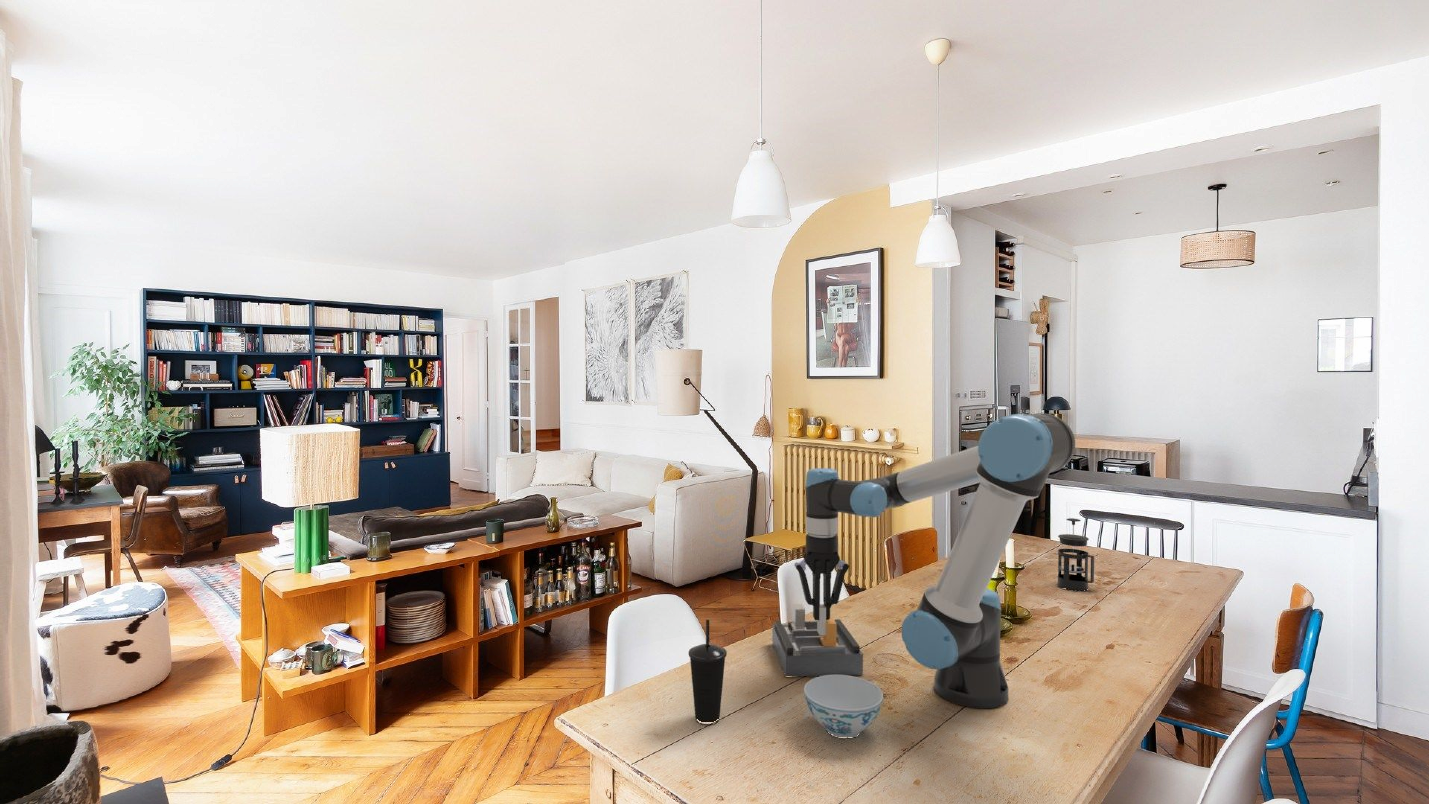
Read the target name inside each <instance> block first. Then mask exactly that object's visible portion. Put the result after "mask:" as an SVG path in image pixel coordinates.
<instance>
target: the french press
mask: <svg viewBox="0 0 1429 804" xmlns="http://www.w3.org/2000/svg"><path fill="white" fill-rule="evenodd" d="M1065 520H1066V521H1069V522H1071V525H1072V534H1067V533H1064V534H1058V536H1057V537H1058V538H1059V543H1060V544H1062V545H1065V546H1069V547H1070V546H1071V547H1072V548H1059V549H1058V550H1057V555H1058V557H1057V558H1058V562H1057V564H1058V565H1057V566H1058V568H1057V569H1058V571H1057V574H1058V575H1057V583H1056V586H1057V585H1058V586H1059V587H1060V588H1059V587H1058V586H1057V587H1058V588H1059V589H1061V588H1066V589H1069V590H1076V591H1075V592H1078V591H1082V592H1085V591H1084V590H1087V589H1088V588H1089V584H1093V583H1095V556H1094V555H1092V554H1089V552H1088V551H1085V550H1082V549H1077V548H1075V547H1086V546H1088V541H1089V537H1087V536H1085V535H1084V536H1083V535H1079V534H1075V525H1076V522H1081V519H1079V518H1073V517H1071V518H1070V517H1069V518H1065ZM1070 553H1071V554H1070ZM1062 558H1063V564H1062ZM1089 558H1090V580H1089V575H1088V574H1089ZM1070 559H1072V562H1071V563H1072V564H1071V565H1070ZM1074 560H1076V564H1074V562H1075V561H1074ZM1083 560H1084V567H1083ZM1062 572H1063V573H1062ZM1083 574H1084V576H1083ZM1089 589H1090V588H1089ZM1069 590H1068V591H1069Z"/></svg>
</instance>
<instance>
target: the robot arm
mask: <svg viewBox="0 0 1429 804" xmlns="http://www.w3.org/2000/svg"><path fill="white" fill-rule="evenodd" d="M1074 434H1075V433H1073V430H1072V428H1071V427H1070V426H1069V425H1068V424H1067V422H1065V421H1064V419H1061V418H1060V417H1058V416H1056V415H1053V414H1051V413H1050V414H1049V413H1040V412H1039V413H1033V414H1032V413H1030V414H1025V413H1015V414H1014V413H1013V414H1009V415H1006V416H1003V417H1001V418H998V419H996V420H994V421H993V422H992V423H990V424H989V425H988V426H987V427H986V428H985V429H984V430H983V432H982V433H981V435H980V437H979V440H978V445H976V446H973V447H970V448H967V449H964V450H961V451H957V452H954V453H952V454H949V455H946V456H942V457H940V458H936V459H934V460H930V461H927V462H925V463H923V464H922V463H921V464H919V465H916V466H914V467H911V468H907V469H903V470H901V471H897V472H894V473H892V474H889V475H885V476H882V477H876V478H875V477H874V478H870V479H864V480H863V479H862V480H845V479H840V478H839V473H838V471H837V470H836V469H833V468H828V467H827V468H824V467H823V468H822V467H821V468H820V467H819V468H811V469H809V470H808V471H807V472H806V477H805V487H804V489H805V506H806V507H805V510H806V511H805V532H806V533H807V534H806V535H805V554H804V555H803V559H802V560H801V561H799V562H795V563H794V568H795V569H796V570H797V571H798V575H799V579H800V583H801V588H802V592H803V595H804V600H805V602H806V603H807V605H809V606H812V617H813V619H814V621H817V632H818V633H819V635H826V620H829V619H830V618H831V608H832V606H833V605H837V604H838V603H839V601H840V596H841V591H842V587H843V583H844V580H845V579H844V578H845V576H846V575H845V574H846V573H847V571H848V570H849V568H850V565H849V564H848V563H847V562H846V561H843V560H842V559H841V558H840V557H841V556H840V555H839V552H838V551H839V536H838V535H837V534H838V532H839V520H838V519H839V518H838V517H839V513H841V514H847V515H853V516H859V517H861V518H878V517H880V516H881V515H882V514H883V512H885V510H888V509H894V508H900V507H903V506H905V505H908V504H910V503H913V502H917V501H921V500H923V499H927V498H931V497H933V496H937V495H941V494H944V493H948V492H952V491H956V490H959V489H962V488H964V487H965V488H966V487H969V486H973V485H976V484H978V487H977V490H976V492H975V494H974V496H973V498H972V501H971V504H970V506H969V508H968V510H967V512H966V515H965V517H964V520H963V523H962V525H961V527H960V529H959V531H958V534H957V536H956V538H955V540H954V542H953V546H952V547H951V551H950V552H949V555H948V557H947V559H946V561H945V563H944V566H943V569H942V571H941V574H940V575H939V578H938V580H937V583H936V584H932V585H930V586H927V587H926V588H925V590H924V592H923V595H922V597H921V599H920V602H919V604H918V606H917V608H916V609H915V610H912V611H911V612H909V613H908V614H907V615H906V617H905V618H904V619H903V621H902V623H901V624H902V625H901V628H900V629H901V631H900V632H901V633H900V634H901V638H902V641H903V642H904V645H905V649H906V650H907V652H908V653H909V655H910V656H911V657H912V658H913V659H914V660H915V661H916V662H917V663H918V664H919V665H921V666H923V667H925V668H928V669H931V670H936V671H935V675H934V678H933V679H934V680H933V682H934V683H933V687H934V691H935V692H936V693H937V694H938V695H939V696H940V697H941V698H943V699H945V700H946V701H948V702H951V703H953V704H956V705H960V706H964V707H968V708H975V709H993V708H999V707H1001V706H1004V705H1005V704H1007V703H1008V701H1009V685H1008V682H1007V680H1006V675H1005V673H1004V670H1003V667H1002V664H1001V621H1002V620H1001V617H1002V607H1001V598H1000V595H999V594H998V592H996V591H994V590H992V589H990V588H988V586H989V583H990V581H991V579H992V578H993V575H994V573H995V571H996V568H997V567H998V564H999V562H1000V560H1001V558H1002V556H1003V553H1004V551H1005V549H1006V547H1007V544H1008V542H1009V540H1010V538H1011V536H1012V533H1013V531H1014V530H1015V527H1016V525H1017V522H1018V521H1019V519H1020V516H1021V514H1022V512H1023V509H1024V507H1025V505H1026V503H1027V502H1028V501H1030V500H1034V499H1036V498H1039V496H1040V495H1041V492H1042V489H1043V488H1044V486H1045V483H1046V481H1047V479H1048V477H1049V475H1050V473H1054V472H1057V471H1059V470H1061V469H1063V468H1064V467H1065V466H1066V465H1067V464H1069V462H1070V461H1071V459H1072V458H1073V457H1074V454H1075V451H1076V439H1075V435H1074ZM806 566H807V567H808V568H809V569H810V571H811V572H812V595H811V590H810V587H809V583H808V577H807V574H806V570H807V568H806ZM836 567H837V571H836V574H835V578H834V579H835V580H834V583H833V587H831V586H832V585H831V584H832V583H831V581H832V580H831V579H832V572H833V571H834V570H835V568H836ZM821 575H822V579H823V581H822V583H823V586H822V591H823V593H822V595H823V597H822V599H823V600H822V601H823V603H821ZM831 589H832V590H831Z"/></svg>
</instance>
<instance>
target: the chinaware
mask: <svg viewBox="0 0 1429 804" xmlns="http://www.w3.org/2000/svg"><path fill="white" fill-rule="evenodd" d="M803 692H804V697H805V701H806V702H805V703H806V704H807V707H808V709H809V711H810V714H811V715H812V716H813V718H814V719H815V720H816V721H817V722H818V723H819V724H820V725H821V727H823V728H826V729H825V731H826V730H827V731H828V732H829V733H830V734H833V735H834V736H837V737H847V738H848V737H856V736H857V735H858V734H860V735H861V733H862V731H865V730H866V729H867V728H869V727H870V726H871V725H872V724H873V723H874V722H875V720H876V719H877V717H878V715H879V713H880V710H881V709H882V704H883V700H884V694H883V691H882V689H881V688H880V687H879V686H878V685H876V684H875V683H874V682H871V681H869V680H867V679H865V678H862V677H861V678H860V677H858V676H848V675H824V676H819V677H813V678H812V679H809V680H808V681H807V682H806V683H805V685H804V687H803ZM860 732H861V733H860ZM856 738H857V737H856Z"/></svg>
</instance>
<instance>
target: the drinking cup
mask: <svg viewBox="0 0 1429 804" xmlns="http://www.w3.org/2000/svg"><path fill="white" fill-rule="evenodd" d="M727 653H728V652H727V649H725V647H722V646H720V645H718V644H717V645H716V644H713V643H710V620H709V619H706V620H705V643H702V644H698V645H696V646H693V647H691V648H689V650H688V657H689V661H690V672H691V683H692V684H691V685H692V695H693V696H692V697H693V706H694V707H693V708H694V717H695V718H696V719H698V720H699V721H701V722H714V721H716V720H717V719H719V717H721V706H722V696H723V684H724V683H723V682H724V675H725V674H724V672H725V663H726V662H725V661H726V657H727ZM696 719H695V720H696ZM719 720H720V719H719Z"/></svg>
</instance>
